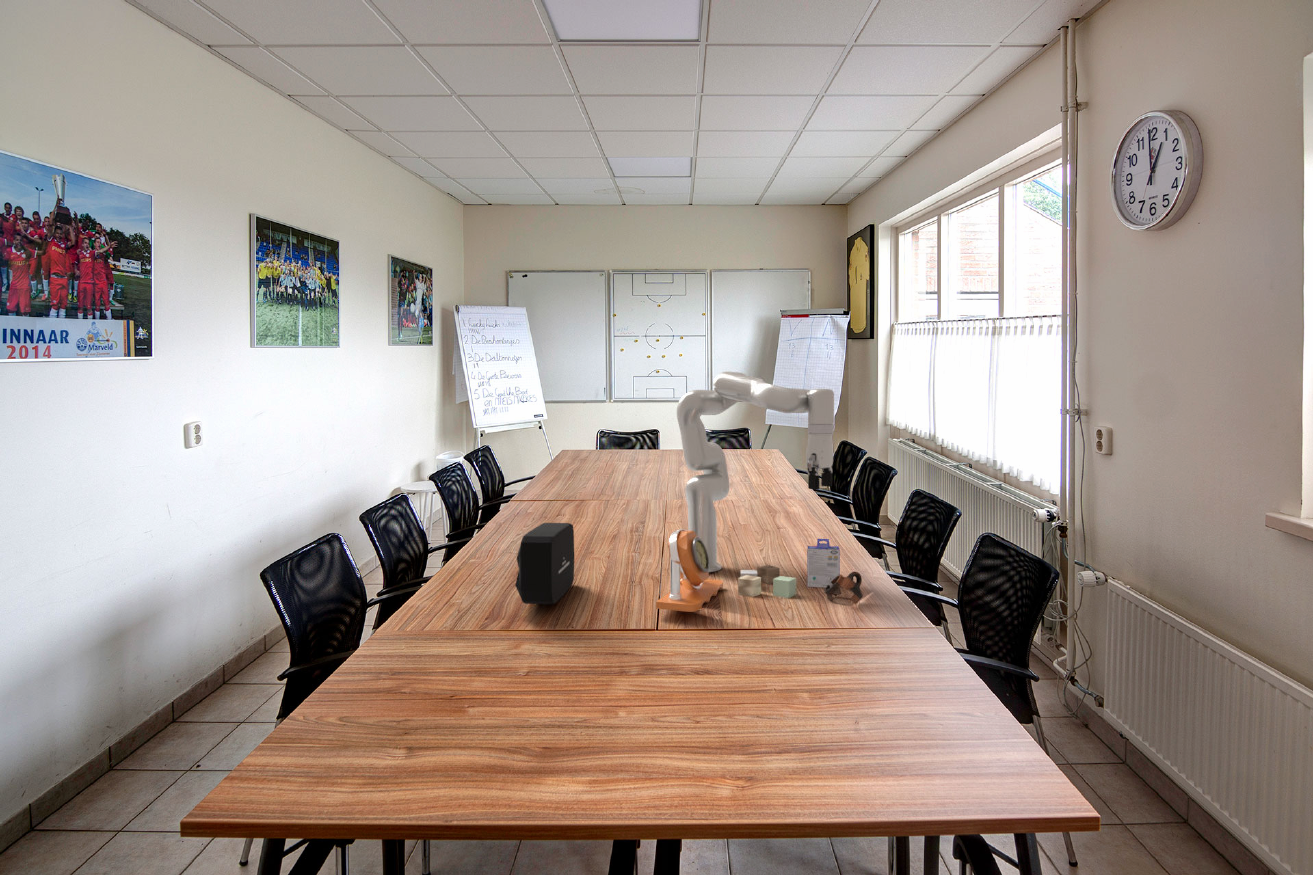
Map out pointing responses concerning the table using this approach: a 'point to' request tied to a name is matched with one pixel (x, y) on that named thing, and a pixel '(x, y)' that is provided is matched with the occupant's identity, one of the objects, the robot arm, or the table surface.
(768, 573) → the walnut cube
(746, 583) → the maple cube
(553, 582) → the black hard case
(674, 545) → the desk clock
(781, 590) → the sage cube
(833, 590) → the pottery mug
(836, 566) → the ink cartridge box
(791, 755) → the table surface
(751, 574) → the grey cube
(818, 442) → the robot arm
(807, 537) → the table surface
